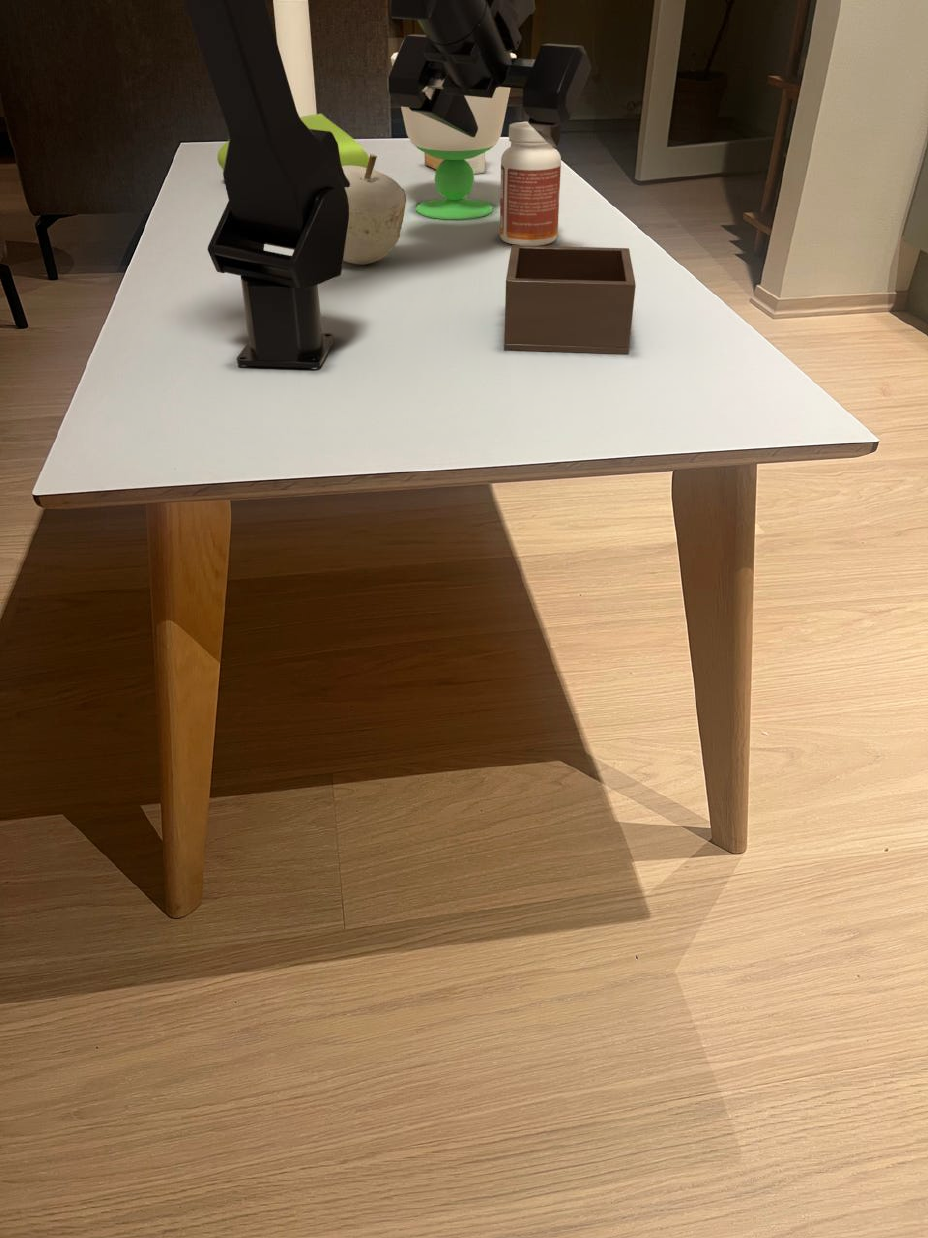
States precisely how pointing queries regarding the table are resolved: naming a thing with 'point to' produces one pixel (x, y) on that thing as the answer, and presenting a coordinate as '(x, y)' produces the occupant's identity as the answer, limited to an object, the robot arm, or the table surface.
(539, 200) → the pill bottle
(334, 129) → the green curved piece
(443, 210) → the cup
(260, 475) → the table surface
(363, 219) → the decorative object
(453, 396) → the table surface
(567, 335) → the brown rectangular open box
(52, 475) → the table surface
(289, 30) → the candle
